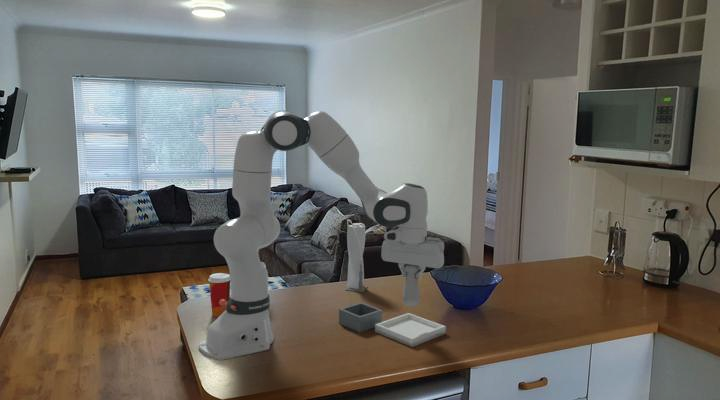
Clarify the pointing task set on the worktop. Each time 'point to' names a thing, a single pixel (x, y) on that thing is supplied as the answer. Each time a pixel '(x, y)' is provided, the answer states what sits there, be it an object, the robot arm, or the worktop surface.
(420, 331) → the tray
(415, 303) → the salt shaker
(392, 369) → the worktop surface
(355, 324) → the hollow square frame
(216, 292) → the paper cup
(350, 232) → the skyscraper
